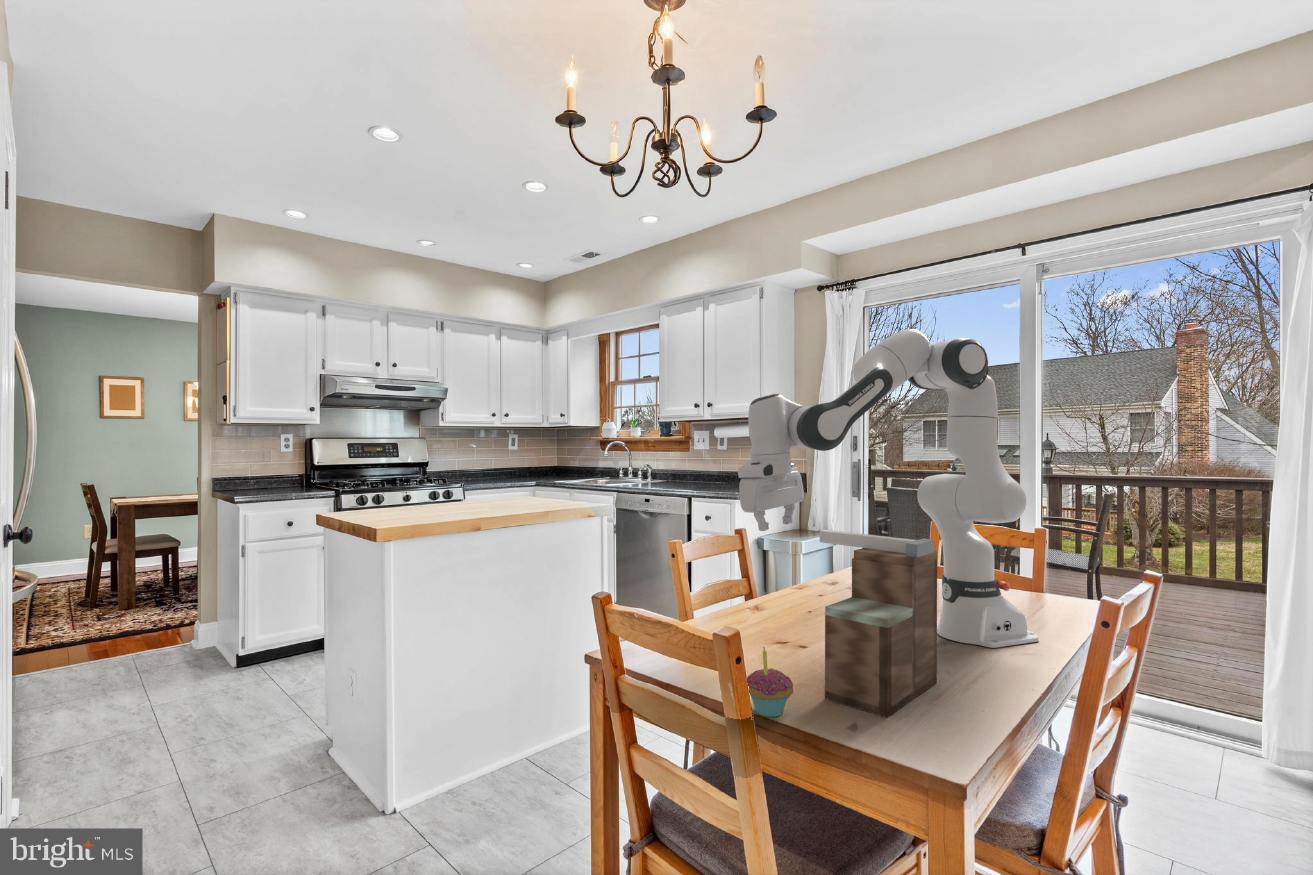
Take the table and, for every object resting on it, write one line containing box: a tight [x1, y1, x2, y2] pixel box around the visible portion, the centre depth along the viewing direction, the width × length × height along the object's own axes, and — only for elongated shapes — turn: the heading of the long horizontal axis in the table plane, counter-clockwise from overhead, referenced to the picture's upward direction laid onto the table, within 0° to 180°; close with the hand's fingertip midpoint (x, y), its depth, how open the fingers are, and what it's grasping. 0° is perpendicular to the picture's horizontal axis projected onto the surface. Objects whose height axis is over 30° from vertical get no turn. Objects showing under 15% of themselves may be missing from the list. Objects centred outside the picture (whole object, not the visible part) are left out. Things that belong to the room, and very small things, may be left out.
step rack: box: [824, 548, 938, 719], centre depth 126 cm, size 12×22×26 cm, turn 136°
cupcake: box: [746, 646, 794, 718], centre depth 117 cm, size 9×8×12 cm
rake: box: [819, 529, 935, 558], centre depth 133 cm, size 22×8×2 cm, turn 46°
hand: (776, 527), depth 150 cm, fingers open, 8 cm apart
